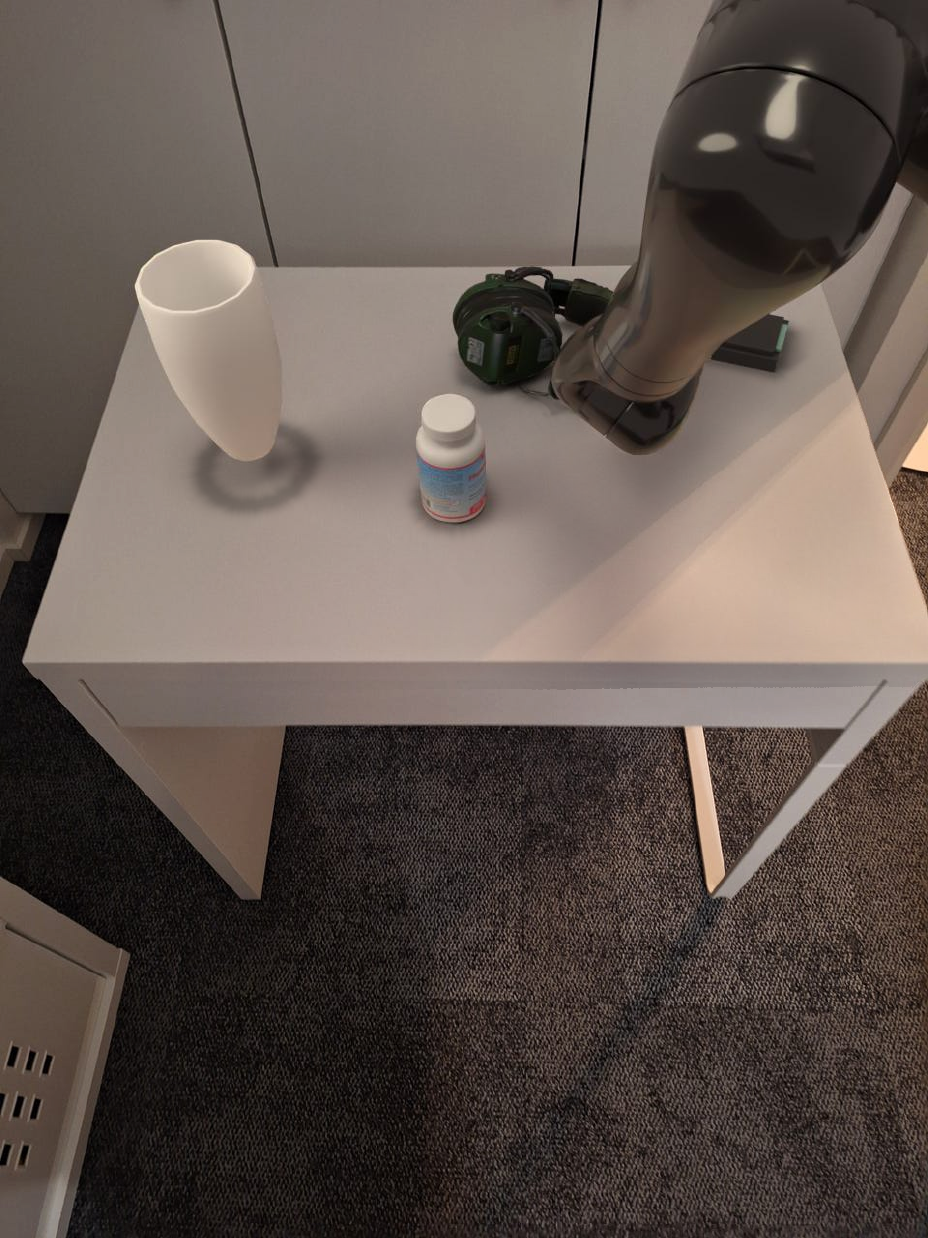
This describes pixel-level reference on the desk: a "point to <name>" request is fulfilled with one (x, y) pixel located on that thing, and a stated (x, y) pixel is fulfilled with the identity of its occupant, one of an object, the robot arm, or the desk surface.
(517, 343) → the headphones
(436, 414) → the pill bottle
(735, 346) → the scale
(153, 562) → the desk surface
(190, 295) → the cup
